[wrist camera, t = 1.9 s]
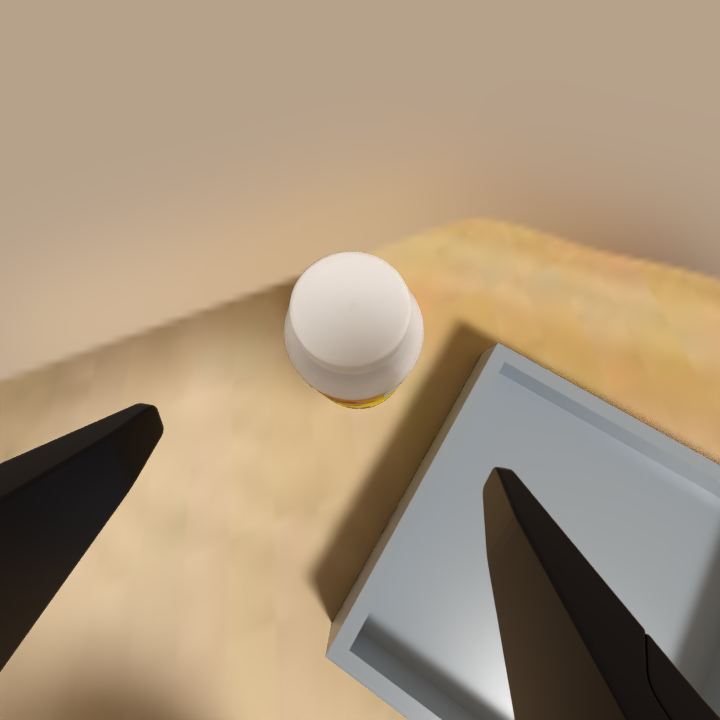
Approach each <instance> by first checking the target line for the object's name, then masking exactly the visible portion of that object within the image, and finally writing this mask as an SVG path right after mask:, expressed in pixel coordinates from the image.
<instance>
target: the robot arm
mask: <svg viewBox="0 0 720 720" xmlns="http://www.w3.org/2000/svg"><path fill="white" fill-rule="evenodd" d="M163 430H164V429H163V424H162V421H161V418H160V415H159V412H158V409H157V408H156V407H155V406H154V405H149V404H143V403H139V404H135V405H133V406H131V407H129V408H126V409H124V410H122V411H119V412H117V413H115V414H113V415H110V416H108V417H106V418H103V419H101V420H99V421H97V422H94V423H92V424H90V425H87V426H85V427H83V428H81V429H78V430H76V431H74V432H71V433H69V434H67V435H65V436H62V437H60V438H58V439H55V440H53V441H51V442H49V443H46V444H44V445H42V446H39V447H37V448H35V449H33V450H30V451H28V452H26V453H23V454H21V455H19V456H17V457H14V458H12V459H10V460H7V461H5V462H3V463H0V672H1V670H2V669H3V667H4V666H5V665H6V663H7V662H8V660H9V659H10V658H11V656H12V655H13V653H14V652H15V651H16V649H17V648H18V646H19V645H20V644H21V642H22V641H23V639H24V638H25V637H26V635H27V634H28V632H29V631H30V630H31V628H32V627H33V625H34V624H35V622H36V621H37V620H38V618H39V617H40V615H41V614H42V613H43V611H44V610H45V608H46V607H47V606H48V604H49V603H50V601H51V600H52V599H53V597H54V596H55V594H56V593H57V592H58V590H59V589H60V587H61V586H62V585H63V583H64V582H65V580H66V579H67V578H68V576H69V575H70V573H71V572H72V571H73V569H74V568H75V566H76V565H77V564H78V562H79V561H80V559H81V558H82V557H83V555H84V554H85V552H86V551H87V550H88V548H89V547H90V545H91V544H92V543H93V541H94V540H95V538H96V537H97V536H98V534H99V533H100V531H101V530H102V528H103V527H104V526H105V524H106V523H107V521H108V520H109V519H110V517H111V516H112V514H113V513H114V512H115V510H116V509H117V507H118V506H119V505H120V503H121V502H122V500H123V499H124V498H125V496H126V495H127V493H128V492H129V490H130V489H131V487H132V486H133V484H134V483H135V481H136V479H137V478H138V476H139V474H140V473H141V471H142V469H143V467H144V466H145V464H146V462H147V460H148V459H149V457H150V455H151V454H152V452H153V450H154V448H155V447H156V445H157V443H158V441H159V440H160V438H161V436H162V434H163ZM483 509H484V524H485V540H486V553H487V561H488V568H489V574H490V579H491V585H492V591H493V597H494V603H495V608H496V614H497V620H498V626H499V632H500V637H501V643H502V649H503V655H504V661H505V666H506V672H507V678H508V684H509V690H510V695H511V701H512V707H513V713H514V719H515V720H720V717H719V716H718V715H717V714H716V712H715V711H714V710H713V709H712V708H711V707H710V706H709V705H708V703H707V702H706V701H705V700H704V699H703V698H702V697H701V695H700V694H699V693H698V692H697V691H696V690H695V688H694V687H693V686H692V685H691V684H690V683H689V681H688V680H687V679H686V678H685V677H684V676H683V674H682V673H681V672H680V671H679V670H678V668H677V667H676V666H675V665H674V664H673V663H672V661H671V660H670V659H669V658H668V657H667V655H666V654H665V653H664V652H663V651H662V649H661V648H660V647H659V646H658V645H657V643H656V642H655V641H654V640H653V639H652V637H651V636H650V635H649V634H645V629H644V628H643V627H642V626H641V624H640V623H639V622H638V621H637V619H636V618H635V617H634V616H633V615H632V613H631V612H630V611H629V610H628V609H627V607H626V606H625V605H624V604H623V603H622V601H621V600H620V599H619V598H618V597H617V595H616V594H615V593H614V592H613V591H612V589H611V588H610V587H609V586H608V584H607V583H606V582H605V581H604V580H603V578H602V577H601V576H600V575H599V574H598V572H597V571H596V570H595V569H594V568H593V566H592V565H591V564H590V563H589V562H588V560H587V559H586V558H585V557H584V556H583V554H582V553H581V552H580V551H579V549H578V548H577V547H576V546H575V545H574V543H573V542H572V541H571V540H570V539H569V537H568V536H567V535H566V534H565V533H564V531H563V530H562V529H561V528H560V527H559V525H558V524H557V523H556V522H555V521H554V519H553V518H552V517H551V516H550V514H549V513H548V512H547V511H546V510H545V508H544V507H543V506H542V505H541V504H540V502H539V501H538V500H537V499H536V498H535V496H534V495H533V494H532V493H531V492H530V490H529V489H528V488H527V487H526V486H525V484H524V483H523V482H522V481H521V479H520V478H519V477H518V476H517V475H516V473H515V472H514V471H512V470H511V469H508V468H502V467H494V468H493V469H492V471H491V473H490V475H489V477H488V479H487V481H486V482H485V484H484V487H483Z"/></svg>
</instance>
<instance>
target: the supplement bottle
mask: <svg viewBox="0 0 720 720" xmlns="http://www.w3.org/2000/svg"><path fill="white" fill-rule="evenodd" d="M423 336H424V326H423V319H422V314H421V311H420V308H419V306H418V303H417V301H416V299H415V297H414V296H413V294H412V293H411V292H410V290H409V289H408V288H407V286H406V284H405V282H404V280H403V278H402V277H401V276H400V274H399V273H398V272H397V271H396V270H395V269H394V268H393V267H392V266H391V265H390V264H388V263H387V262H386V261H384V260H382V259H381V258H379V257H376V256H374V255H372V254H368V253H363V252H356V251H346V252H340V253H335V254H331V255H328V256H326V257H324V258H322V259H320V260H318V261H316V262H315V263H314V264H312V265H311V266H309V267H308V268H307V269H306V271H304V273H303V274H302V275H301V276H300V278H299V279H298V281H297V283H296V284H295V286H294V289H293V291H292V294H291V299H290V304H289V308H288V311H287V314H286V318H285V324H284V341H285V347H286V350H287V353H288V356H289V359H290V361H291V363H292V365H293V366H294V368H295V369H296V371H297V372H298V373H299V375H300V376H301V377H302V378H303V379H304V380H305V381H306V382H307V383H308V384H309V385H310V386H311V387H313V388H314V389H316V390H317V391H319V392H320V393H321V394H323V395H324V396H326V397H327V398H329V399H330V400H332V401H333V402H335V403H337V404H339V405H341V406H344V407H347V408H353V409H365V408H370V407H374V406H376V405H378V404H380V403H382V402H383V401H385V400H386V399H388V398H389V397H390V396H391V395H392V394H393V393H394V392H395V390H396V389H397V388H398V386H399V385H400V384H401V383H402V382H403V380H404V379H405V378H406V377H407V375H408V374H409V373H410V371H411V370H412V368H413V367H414V365H415V363H416V361H417V359H418V357H419V355H420V351H421V348H422V344H423Z"/></svg>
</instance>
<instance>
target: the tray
mask: <svg viewBox="0 0 720 720" xmlns="http://www.w3.org/2000/svg"><path fill="white" fill-rule="evenodd" d="M494 467H502V468H508V469H511V470H512V471H514V472H515V473H516V475H517V476H518V477H519V478H520V479H521V481H522V482H523V483H524V484H525V486H526V487H527V488H528V489H529V490H530V492H531V493H532V494H533V495H534V496H535V498H536V499H537V500H538V501H539V502H540V504H541V505H542V506H543V507H544V508H545V510H546V511H547V512H548V513H549V514H550V516H551V517H552V518H553V519H554V521H555V522H556V523H557V524H558V525H559V527H560V528H561V529H562V530H563V531H564V533H565V534H566V535H567V536H568V537H569V539H570V540H571V541H572V542H573V543H574V545H575V546H576V547H577V548H578V549H579V551H580V552H581V553H582V554H583V556H584V557H585V558H586V559H587V560H588V562H589V563H590V564H591V565H592V566H593V568H594V569H595V570H596V571H597V572H598V574H599V575H600V576H601V577H602V578H603V580H604V581H605V582H606V583H607V584H608V586H609V587H610V588H611V589H612V591H613V592H614V593H615V594H616V595H617V597H618V598H619V599H620V600H621V601H622V603H623V604H624V605H625V606H626V607H627V609H628V610H629V611H630V612H631V613H632V615H633V616H634V617H635V618H636V619H637V621H638V622H639V623H640V624H641V626H642V627H643V628H644V629H645V634H649V635H650V636H651V637H652V639H653V640H654V641H655V642H656V643H657V645H658V646H659V647H660V648H661V649H662V651H663V652H664V653H665V654H666V655H667V657H668V658H669V659H670V660H671V661H672V663H673V664H674V665H675V666H676V667H677V668H678V670H679V671H680V672H681V673H682V674H683V676H684V677H685V678H686V679H687V680H688V681H689V683H690V684H691V685H692V686H693V687H694V688H695V690H696V691H697V692H698V693H699V694H700V695H701V697H702V698H703V699H704V700H705V701H706V702H707V703H708V705H709V706H710V707H711V708H712V709H713V710H714V711H715V712H716V714H717V715H718V716H719V717H720V465H719V464H717V463H715V462H713V461H711V460H710V459H708V458H706V457H704V456H702V455H701V454H699V453H697V452H695V451H693V450H692V449H690V448H688V447H686V446H684V445H682V444H681V443H679V442H677V441H675V440H673V439H672V438H670V437H668V436H666V435H664V434H663V433H661V432H659V431H657V430H655V429H654V428H652V427H650V426H648V425H646V424H645V423H643V422H641V421H639V420H637V419H635V418H634V417H632V416H630V415H628V414H626V413H625V412H623V411H621V410H619V409H617V408H616V407H614V406H612V405H610V404H608V403H607V402H605V401H603V400H601V399H599V398H598V397H596V396H594V395H592V394H590V393H588V392H587V391H585V390H583V389H581V388H579V387H578V386H576V385H574V384H572V383H570V382H569V381H567V380H565V379H563V378H561V377H560V376H558V375H556V374H554V373H552V372H550V371H549V370H547V369H545V368H543V367H541V366H540V365H538V364H536V363H534V362H532V361H531V360H529V359H527V358H525V357H523V356H522V355H520V354H518V353H516V352H514V351H513V350H511V349H509V348H507V347H505V346H503V345H502V344H500V343H496V344H495V345H493V346H492V347H490V348H489V349H487V350H486V351H484V352H483V353H482V354H481V356H480V358H479V360H478V361H477V363H476V365H475V367H474V368H473V370H472V372H471V374H470V376H469V377H468V379H467V381H466V383H465V385H464V386H463V388H462V390H461V392H460V394H459V395H458V397H457V399H456V401H455V403H454V404H453V406H452V408H451V410H450V412H449V413H448V415H447V417H446V419H445V421H444V422H443V424H442V426H441V428H440V430H439V431H438V433H437V435H436V437H435V439H434V440H433V442H432V444H431V446H430V448H429V449H428V451H427V453H426V455H425V457H424V458H423V460H422V462H421V464H420V466H419V467H418V469H417V471H416V473H415V475H414V476H413V478H412V480H411V482H410V484H409V485H408V487H407V489H406V491H405V493H404V494H403V496H402V498H401V500H400V501H399V503H398V505H397V507H396V509H395V510H394V512H393V514H392V516H391V518H390V519H389V521H388V523H387V525H386V527H385V528H384V530H383V532H382V534H381V536H380V537H379V539H378V541H377V543H376V545H375V546H374V548H373V550H372V552H371V554H370V555H369V557H368V559H367V561H366V563H365V564H364V566H363V568H362V570H361V572H360V573H359V575H358V577H357V579H356V581H355V582H354V584H353V586H352V588H351V590H350V591H349V593H348V595H347V597H346V599H345V600H344V602H343V604H342V606H341V608H340V609H339V611H338V613H337V615H336V617H335V618H334V620H333V622H332V624H331V629H330V635H329V640H328V645H327V650H326V656H325V657H327V658H328V659H329V660H331V661H332V662H333V663H335V664H336V665H337V666H339V667H340V668H341V669H343V670H344V671H345V672H346V673H348V674H349V675H350V676H352V677H353V678H354V679H356V680H357V681H358V682H360V683H361V684H362V685H364V686H365V687H366V688H368V689H369V690H370V691H371V692H373V693H374V694H375V695H377V696H378V697H379V698H381V699H382V700H383V701H385V702H386V703H387V704H389V705H390V706H391V707H392V708H394V709H395V710H396V711H398V712H399V713H400V714H402V715H403V716H404V717H406V718H407V719H408V720H515V719H514V713H513V707H512V701H511V695H510V690H509V684H508V678H507V672H506V666H505V661H504V655H503V649H502V643H501V637H500V632H499V626H498V620H497V614H496V608H495V603H494V597H493V591H492V585H491V579H490V574H489V568H488V561H487V553H486V540H485V524H484V509H483V487H484V484H485V482H486V481H487V479H488V477H489V475H490V473H491V471H492V469H493V468H494Z"/></svg>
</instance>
